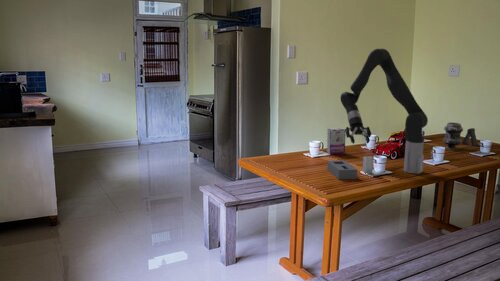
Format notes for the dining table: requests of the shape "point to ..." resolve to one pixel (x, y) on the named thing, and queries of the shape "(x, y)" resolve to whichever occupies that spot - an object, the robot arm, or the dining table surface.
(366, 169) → the gray rectangular block
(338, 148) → the candy bar box
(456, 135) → the dark grey tall lump
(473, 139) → the dark grey arch
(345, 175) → the bore block
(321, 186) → the dining table surface
